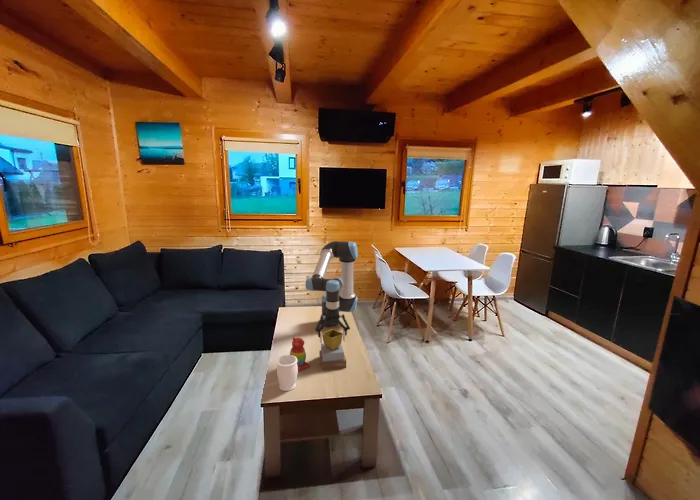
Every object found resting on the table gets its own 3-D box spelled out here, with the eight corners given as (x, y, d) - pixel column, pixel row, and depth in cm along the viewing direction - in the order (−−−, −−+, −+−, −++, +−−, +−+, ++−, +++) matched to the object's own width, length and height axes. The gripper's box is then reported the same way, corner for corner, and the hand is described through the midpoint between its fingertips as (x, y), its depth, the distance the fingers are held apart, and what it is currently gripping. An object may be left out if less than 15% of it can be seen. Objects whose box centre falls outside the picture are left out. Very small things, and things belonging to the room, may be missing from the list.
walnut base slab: (319, 358, 191) (319, 350, 190) (342, 355, 193) (342, 348, 192) (322, 371, 177) (321, 363, 176) (346, 368, 180) (346, 360, 179)
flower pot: (321, 347, 184) (321, 333, 182) (332, 342, 190) (332, 328, 188) (331, 352, 178) (331, 338, 176) (342, 347, 184) (343, 333, 182)
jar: (279, 394, 156) (278, 367, 153) (275, 382, 165) (274, 357, 162) (300, 389, 160) (299, 363, 157) (295, 378, 169) (294, 353, 166)
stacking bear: (311, 366, 181) (311, 337, 177) (297, 374, 173) (297, 344, 170) (299, 359, 188) (298, 332, 184) (285, 366, 180) (284, 338, 176)
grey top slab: (320, 351, 189) (320, 343, 188) (340, 349, 191) (340, 342, 190) (323, 362, 177) (322, 354, 176) (343, 360, 180) (343, 352, 179)
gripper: (311, 311, 173) (311, 346, 177) (355, 308, 177) (354, 342, 182) (310, 306, 180) (310, 339, 184) (352, 303, 185) (352, 336, 189)
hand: (332, 341), depth 183 cm, fingers open, 13 cm apart
